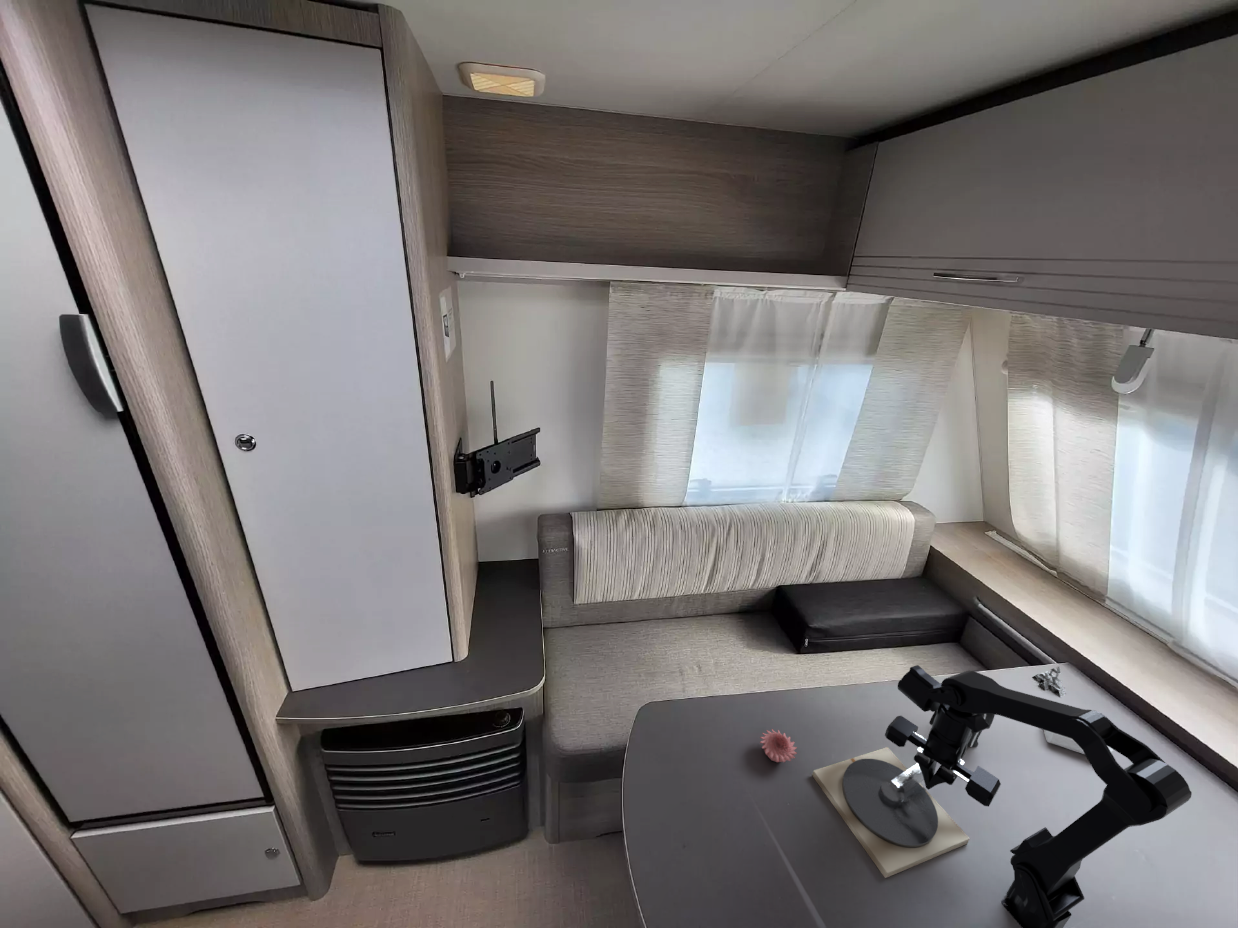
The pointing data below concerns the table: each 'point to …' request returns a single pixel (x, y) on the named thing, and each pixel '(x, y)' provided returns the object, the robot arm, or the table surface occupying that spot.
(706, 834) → the table surface
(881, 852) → the dial board
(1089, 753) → the robot arm
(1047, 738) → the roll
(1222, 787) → the table surface
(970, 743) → the battery charger
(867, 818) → the dial
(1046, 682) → the grey irregular lump
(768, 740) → the flower
